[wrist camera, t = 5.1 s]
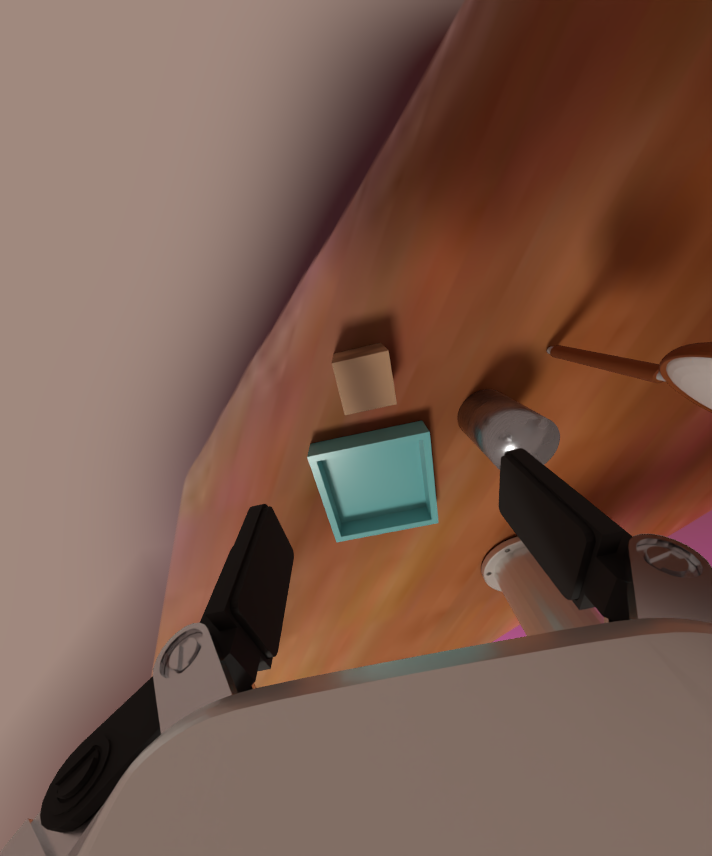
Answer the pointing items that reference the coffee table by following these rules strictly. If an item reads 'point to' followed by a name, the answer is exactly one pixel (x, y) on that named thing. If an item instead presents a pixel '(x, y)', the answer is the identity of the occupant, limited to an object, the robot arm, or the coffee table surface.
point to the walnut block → (364, 378)
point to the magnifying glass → (657, 368)
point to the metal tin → (506, 427)
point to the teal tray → (376, 480)
